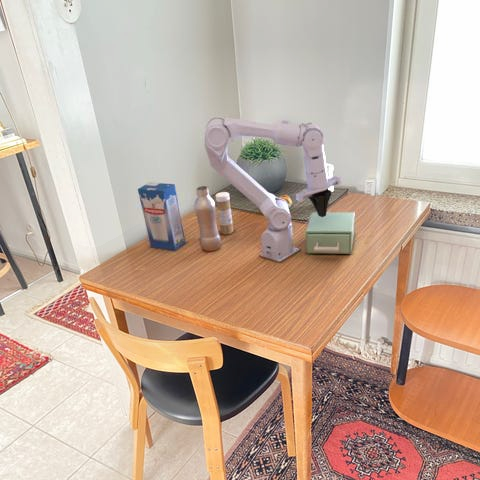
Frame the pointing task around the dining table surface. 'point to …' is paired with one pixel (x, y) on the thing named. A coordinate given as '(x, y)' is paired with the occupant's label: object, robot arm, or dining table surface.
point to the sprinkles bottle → (224, 212)
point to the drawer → (328, 243)
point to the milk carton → (162, 215)
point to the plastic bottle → (206, 219)
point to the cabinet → (332, 226)
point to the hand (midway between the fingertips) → (322, 215)
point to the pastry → (286, 199)
